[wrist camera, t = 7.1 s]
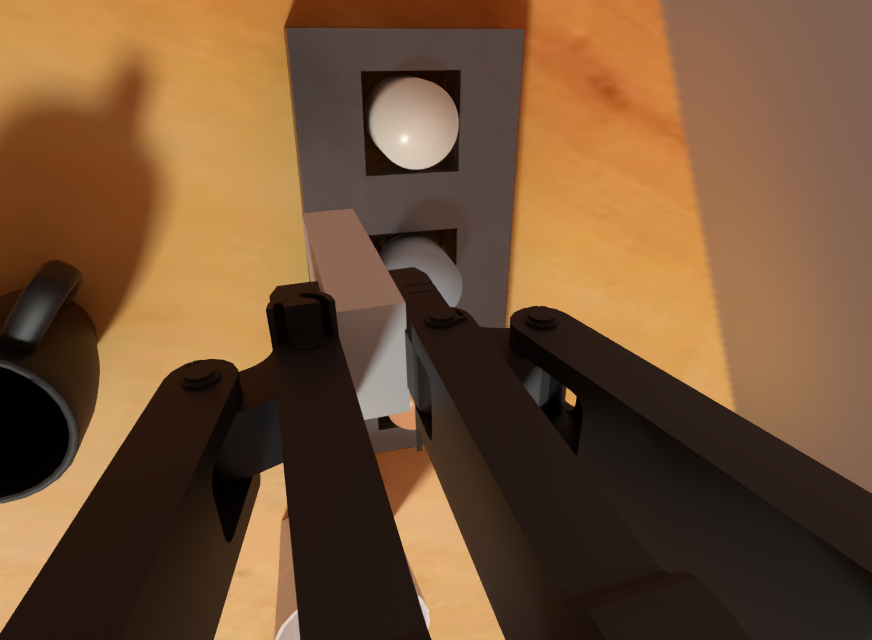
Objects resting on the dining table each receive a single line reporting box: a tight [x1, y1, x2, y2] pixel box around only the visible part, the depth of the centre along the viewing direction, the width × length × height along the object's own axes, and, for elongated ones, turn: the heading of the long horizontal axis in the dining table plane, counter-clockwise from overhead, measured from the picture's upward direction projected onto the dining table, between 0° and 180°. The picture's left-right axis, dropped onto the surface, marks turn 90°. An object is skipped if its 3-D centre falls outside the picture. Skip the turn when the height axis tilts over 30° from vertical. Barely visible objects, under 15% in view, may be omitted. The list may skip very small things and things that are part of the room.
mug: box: [0, 260, 100, 503], centre depth 29 cm, size 8×12×10 cm
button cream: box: [364, 74, 459, 169], centre depth 31 cm, size 4×4×4 cm
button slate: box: [378, 232, 462, 307], centre depth 34 cm, size 4×4×4 cm
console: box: [284, 28, 525, 454], centre depth 36 cm, size 26×12×3 cm, turn 0°
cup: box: [274, 517, 430, 640], centre depth 41 cm, size 10×10×10 cm
